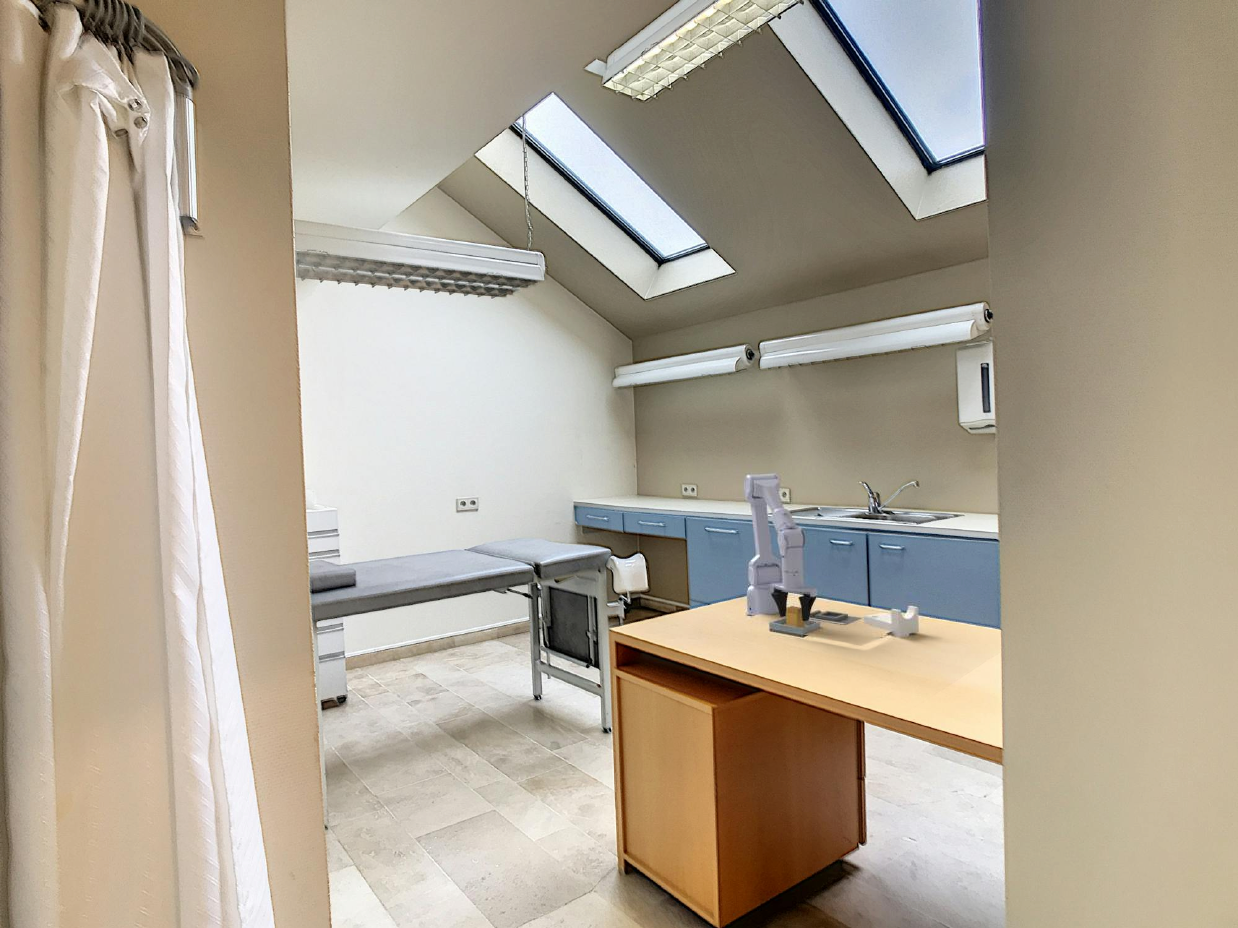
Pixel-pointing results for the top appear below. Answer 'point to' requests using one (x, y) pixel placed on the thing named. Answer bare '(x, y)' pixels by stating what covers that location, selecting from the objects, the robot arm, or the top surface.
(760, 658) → the top surface
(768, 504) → the robot arm
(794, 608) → the block
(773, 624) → the parts tray
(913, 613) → the bracket
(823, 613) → the grey socket base
